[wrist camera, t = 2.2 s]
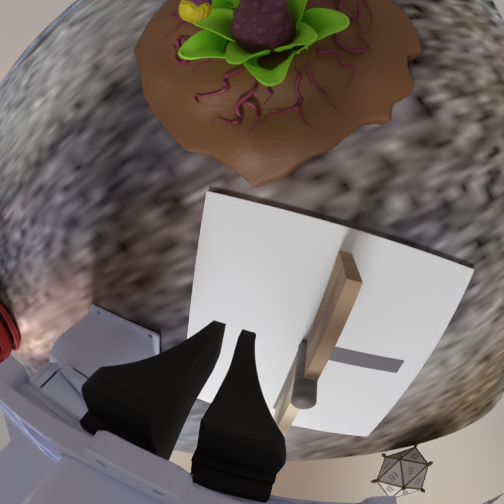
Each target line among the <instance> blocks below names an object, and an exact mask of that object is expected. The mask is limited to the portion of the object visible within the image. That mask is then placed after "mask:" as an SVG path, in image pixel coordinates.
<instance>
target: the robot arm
mask: <svg viewBox="0 0 504 504" xmlns="http://www.w3.org/2000/svg"><path fill="white" fill-rule="evenodd" d="M225 327H226V324H225V323H221V322H218V321H215V320H214V321H212V322H210V323H209V324H208V325H207V326H205V327H204V328H203V329H201V330H200V331H199V332H197V333H196V334H194V335H193V336H191V337H190V338H188V339H187V340H185V341H183V342H182V343H180V344H178V345H176V346H175V347H173V348H171V349H169V350H167V351H164V352H162V353H160V336H159V334H158V333H156V332H153V331H151V330H148V329H146V328H144V327H141V326H139V325H137V324H134V323H132V322H130V321H128V320H125V319H123V318H121V317H119V316H117V315H114V314H112V313H110V312H108V311H106V310H104V309H102V308H100V307H98V306H96V305H93V304H92V305H91V306H90V313H88V314H87V315H86V316H85V317H83V318H82V319H81V320H80V321H78V322H77V323H76V324H75V325H73V326H72V327H71V328H70V329H68V330H67V331H66V332H65V333H63V334H62V335H61V336H60V337H59V338H58V339H57V341H56V342H55V344H54V345H53V348H52V350H51V353H50V362H47V363H46V364H45V365H44V366H43V367H42V368H41V369H40V370H39V371H37V372H36V373H35V374H34V375H33V376H32V377H31V378H30V379H29V376H28V373H27V371H26V369H25V368H24V367H23V366H22V365H21V364H20V363H19V362H18V361H17V360H16V359H15V358H14V357H13V356H11V355H10V356H9V357H8V358H6V359H5V360H4V361H3V362H2V363H0V409H1V410H2V412H3V413H4V416H5V421H6V424H7V428H8V432H9V436H10V440H11V441H10V442H9V443H8V444H7V445H6V446H5V447H4V448H3V449H2V450H1V451H0V504H23V503H24V502H25V501H26V500H27V499H28V498H29V497H30V496H31V495H32V494H33V493H34V494H33V495H32V496H31V498H30V499H29V501H28V502H27V503H26V504H396V496H380V497H371V498H367V499H365V500H363V501H362V502H361V503H335V502H319V501H309V500H300V499H292V498H285V497H279V496H273V495H270V494H271V490H272V485H273V484H274V482H275V478H276V474H277V473H278V472H279V471H280V469H281V468H282V467H283V466H284V464H285V461H286V446H285V439H284V435H283V434H282V432H281V431H280V429H279V427H278V426H277V424H276V422H275V420H274V419H273V417H272V415H271V413H270V410H269V408H268V406H267V403H266V401H265V399H264V396H263V393H262V389H261V386H260V382H259V378H258V373H257V367H256V359H255V340H256V334H255V333H254V332H251V331H247V330H244V329H242V331H241V333H240V335H239V337H238V340H237V343H236V347H235V350H234V354H233V357H232V361H231V364H230V367H229V370H228V372H227V374H226V376H225V378H224V380H223V382H222V384H221V386H220V388H219V390H218V392H217V394H216V395H215V397H214V399H213V401H212V403H211V405H210V406H209V408H208V410H207V411H206V413H205V415H204V416H203V418H202V419H201V423H200V430H199V437H198V444H197V448H196V450H195V453H194V455H193V457H192V460H191V461H192V467H191V473H188V472H187V471H185V470H184V469H183V468H181V467H180V466H178V465H176V464H174V463H172V462H170V461H169V458H170V456H171V454H172V451H173V449H174V446H175V444H176V442H177V439H178V437H179V435H180V432H181V430H182V428H183V426H184V423H185V421H186V419H187V417H188V414H189V412H190V410H191V408H192V406H193V404H194V402H195V401H196V399H197V397H198V396H199V394H200V392H201V390H202V389H203V387H204V385H205V384H206V382H207V380H208V379H209V377H210V375H211V374H212V372H213V370H214V368H215V365H216V363H217V361H218V358H219V356H220V353H221V348H222V342H223V337H224V332H225ZM151 335H152V336H151Z"/></svg>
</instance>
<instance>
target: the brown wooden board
mask: <svg viewBox="0 0 504 504" xmlns="http://www.w3.org/2000/svg"><path fill="white" fill-rule="evenodd" d="M362 284H363V282H362V279H361V277H360V274H359V271H358V268H357V266H356V263H355V260H354V258H353V255H352V254H351V253H348V252H344V251H341V250H339V252H338V255H337V258H336V261H335V264H334V267H333V270H332V273H331V276H330V279H329V282H328V285H327V287H326V290H325V293H324V296H323V298H322V301H321V304H320V307H319V309H318V312H317V314H316V317H315V320H314V322H313V325H312V327H311V330H310V332H309V335H308V337H307V350H306V362H305V373H304V378H305V379H310V380H314V381H318V379H319V377H320V375H321V373H322V371H323V370H324V368H325V366H326V364H327V362H328V360H329V358H330V356H331V354H332V352H333V350H334V348H335V345H336V343H337V341H338V339H339V337H340V335H341V333H342V331H343V328H344V326H345V324H346V322H347V319H348V317H349V315H350V313H351V310H352V308H353V306H354V303H355V301H356V298H357V296H358V294H359V291H360V289H361V286H362Z"/></svg>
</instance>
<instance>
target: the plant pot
mask: <svg viewBox="0 0 504 504" xmlns="http://www.w3.org/2000/svg"><path fill="white" fill-rule="evenodd" d="M19 346H20V340H19V335H18V332H17V329H16V327H15V325H14V323H13V319H12V317H11V316H10V315H9V314H8V312H7V310H6V309H5V308H4V306H3V305H2V304H1V303H0V363H2V362H3V361H4V360H5V359H6V358H8V357H9V356H10V354H11V351H12V350H14V351H17V350H18V349H19Z"/></svg>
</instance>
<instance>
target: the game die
mask: <svg viewBox="0 0 504 504" xmlns="http://www.w3.org/2000/svg"><path fill="white" fill-rule="evenodd" d="M417 445H418V443H417V442H416V443H415V445H414V447H413V448H410V449H407V450H404V451H402V452H399V453H395V454H392V455H389V456H386V455H385V454H383V453H382V456H383V457H384V458H385V459H384V462H383V465H382V467H381V470H380V473H379V475H378V478H377V480H372V481H371V482H372V483H375V482H377V483H378V484H379V485H380V487H381V488H382V489H383V490H384V492H385V493H386V494H387V496H396V497H399V496H403V495H406V494H409V493H412V492H415V491H418V490H421V491H422V492H425V490H424V489H423V488H422V487H423V483H424V480H425V476H426V473H427V469H428V466H430V465H432V463H433V462H429V463H427V461H426V460H425V459H424V457H423V456H422V455H421V453H420V452H419V451H418V449H417V448H416V446H417Z"/></svg>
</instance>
